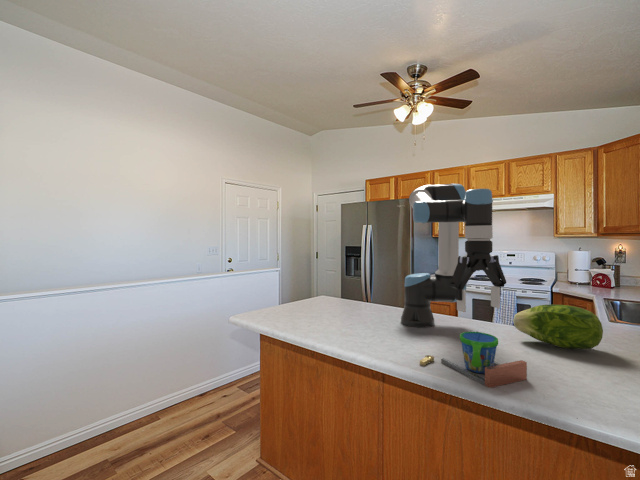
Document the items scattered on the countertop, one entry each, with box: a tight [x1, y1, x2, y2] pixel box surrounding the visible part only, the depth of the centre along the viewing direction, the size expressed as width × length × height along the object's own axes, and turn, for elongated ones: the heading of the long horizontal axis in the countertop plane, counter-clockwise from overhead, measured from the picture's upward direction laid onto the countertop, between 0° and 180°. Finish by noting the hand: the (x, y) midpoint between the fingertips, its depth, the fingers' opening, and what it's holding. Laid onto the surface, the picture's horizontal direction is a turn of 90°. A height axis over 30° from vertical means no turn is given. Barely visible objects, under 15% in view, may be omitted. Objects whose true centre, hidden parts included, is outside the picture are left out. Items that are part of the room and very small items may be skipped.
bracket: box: [440, 358, 528, 389], centre depth 96 cm, size 14×18×5 cm
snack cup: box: [459, 331, 499, 375], centre depth 96 cm, size 16×10×10 cm
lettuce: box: [512, 304, 604, 350], centre depth 117 cm, size 15×27×16 cm, turn 53°
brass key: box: [419, 354, 435, 367], centre depth 102 cm, size 7×3×1 cm, turn 135°
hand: (478, 309), depth 96 cm, fingers open, 13 cm apart
